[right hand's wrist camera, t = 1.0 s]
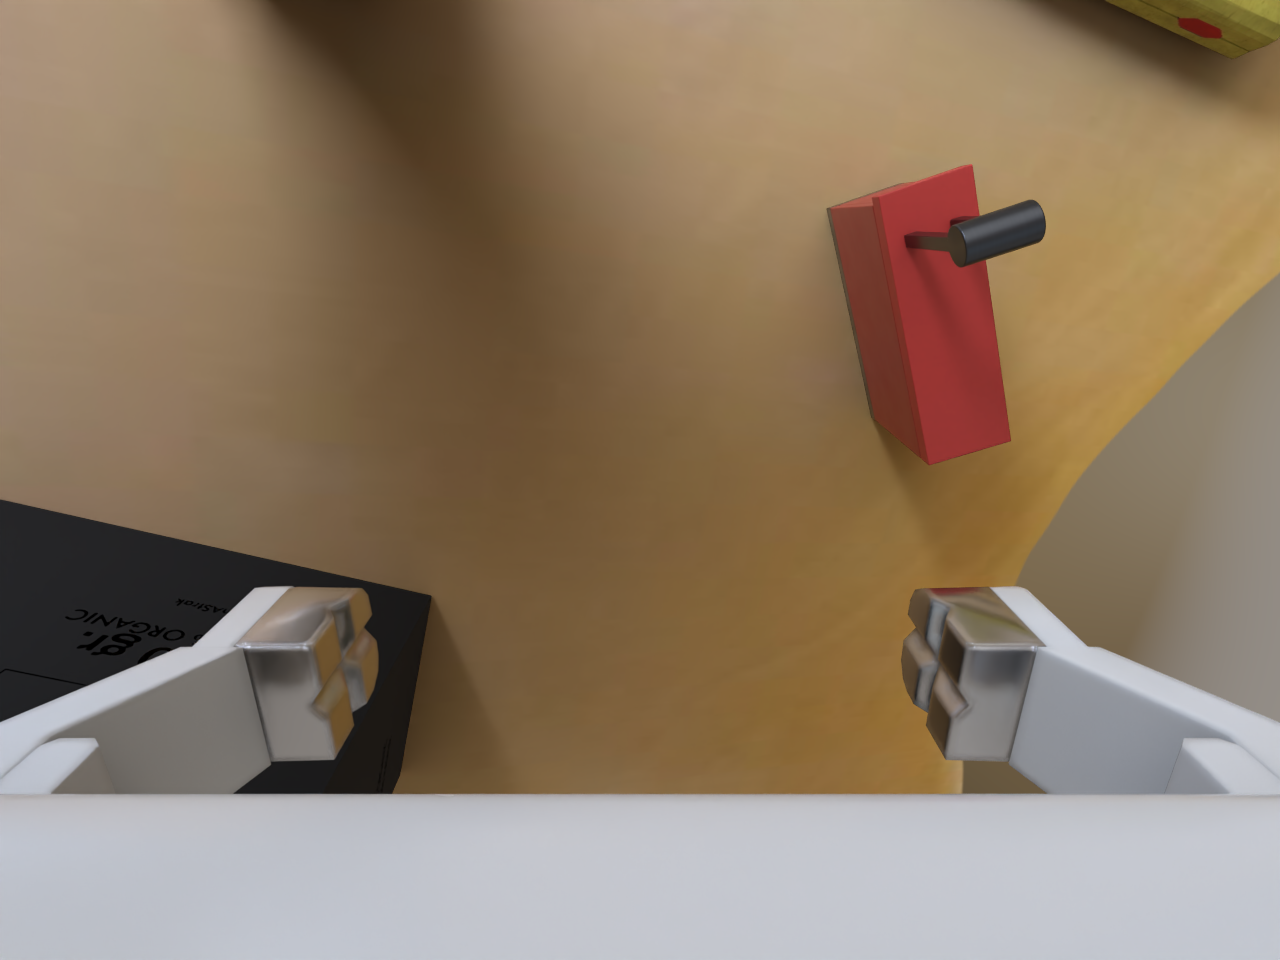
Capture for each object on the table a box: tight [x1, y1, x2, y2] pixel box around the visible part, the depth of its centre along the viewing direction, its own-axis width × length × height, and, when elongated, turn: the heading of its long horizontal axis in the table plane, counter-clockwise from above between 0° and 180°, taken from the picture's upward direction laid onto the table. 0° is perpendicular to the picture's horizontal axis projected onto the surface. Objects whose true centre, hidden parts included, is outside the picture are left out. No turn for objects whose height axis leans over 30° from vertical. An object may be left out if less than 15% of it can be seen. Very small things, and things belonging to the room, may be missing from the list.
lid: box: [872, 164, 1046, 465], centre depth 36 cm, size 16×5×9 cm, turn 18°
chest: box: [827, 182, 921, 458], centre depth 45 cm, size 16×5×10 cm, turn 18°
